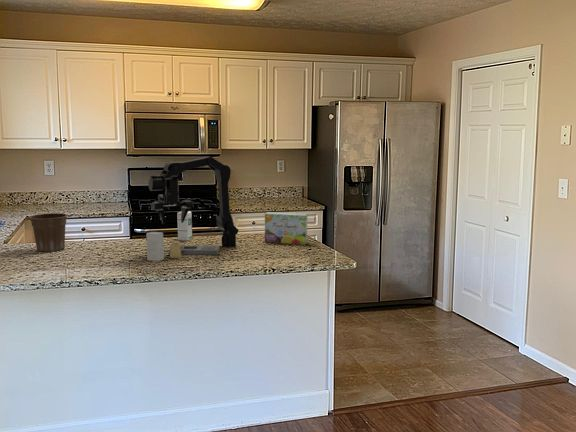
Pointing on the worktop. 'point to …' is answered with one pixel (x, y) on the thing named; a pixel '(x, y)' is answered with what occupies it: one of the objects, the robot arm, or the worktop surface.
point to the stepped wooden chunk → (176, 250)
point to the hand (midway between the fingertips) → (172, 223)
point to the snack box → (286, 228)
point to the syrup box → (185, 226)
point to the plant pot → (49, 231)
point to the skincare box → (155, 246)
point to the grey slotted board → (200, 249)
